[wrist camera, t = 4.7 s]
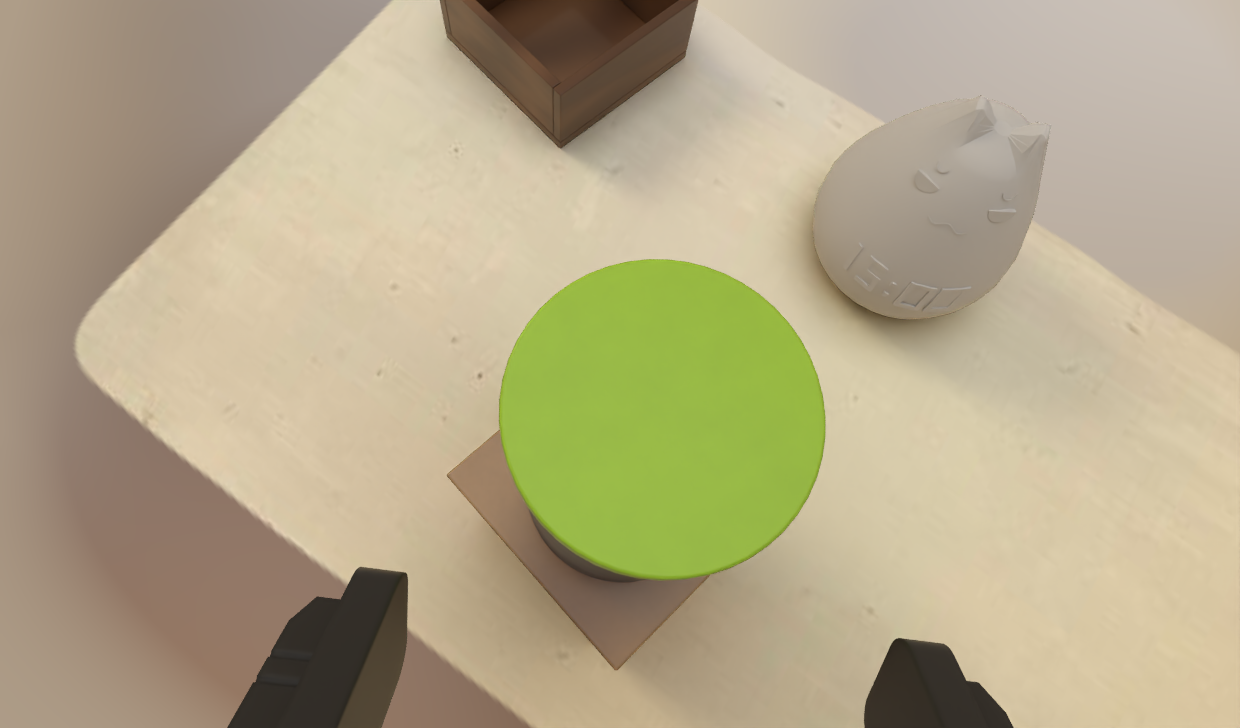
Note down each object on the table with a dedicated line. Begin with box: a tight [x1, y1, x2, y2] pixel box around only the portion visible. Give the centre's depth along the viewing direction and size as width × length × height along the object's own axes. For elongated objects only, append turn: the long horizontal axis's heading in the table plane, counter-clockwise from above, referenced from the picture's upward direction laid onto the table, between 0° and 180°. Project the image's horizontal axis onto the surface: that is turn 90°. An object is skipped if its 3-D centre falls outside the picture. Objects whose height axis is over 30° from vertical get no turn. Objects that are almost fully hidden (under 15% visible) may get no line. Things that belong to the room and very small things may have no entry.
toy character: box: [813, 96, 1051, 319], centre depth 35 cm, size 10×10×12 cm
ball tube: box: [499, 259, 825, 582], centre depth 18 cm, size 6×6×10 cm
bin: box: [440, 0, 698, 148], centre depth 41 cm, size 10×10×5 cm
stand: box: [447, 430, 710, 670], centre depth 29 cm, size 8×8×12 cm
